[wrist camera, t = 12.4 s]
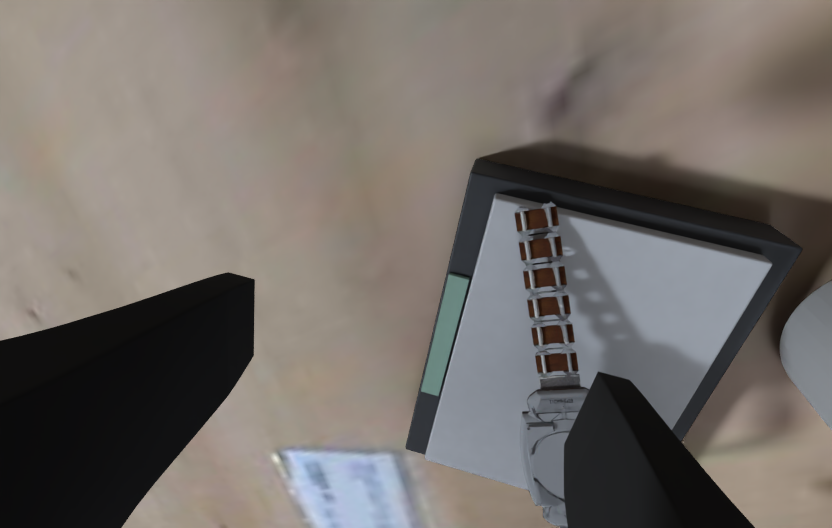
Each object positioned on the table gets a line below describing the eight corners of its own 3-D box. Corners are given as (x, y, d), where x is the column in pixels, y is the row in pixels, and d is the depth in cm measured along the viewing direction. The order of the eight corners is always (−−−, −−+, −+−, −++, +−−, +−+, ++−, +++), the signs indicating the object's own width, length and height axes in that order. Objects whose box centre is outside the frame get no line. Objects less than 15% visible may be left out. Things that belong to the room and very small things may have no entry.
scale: (624, 477, 23) (637, 531, 20) (414, 416, 24) (401, 461, 22) (771, 224, 17) (817, 257, 14) (476, 157, 18) (468, 176, 15)
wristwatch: (542, 520, 21) (543, 615, 16) (496, 208, 20) (482, 213, 15) (626, 522, 20) (654, 623, 15) (585, 194, 19) (600, 193, 14)
